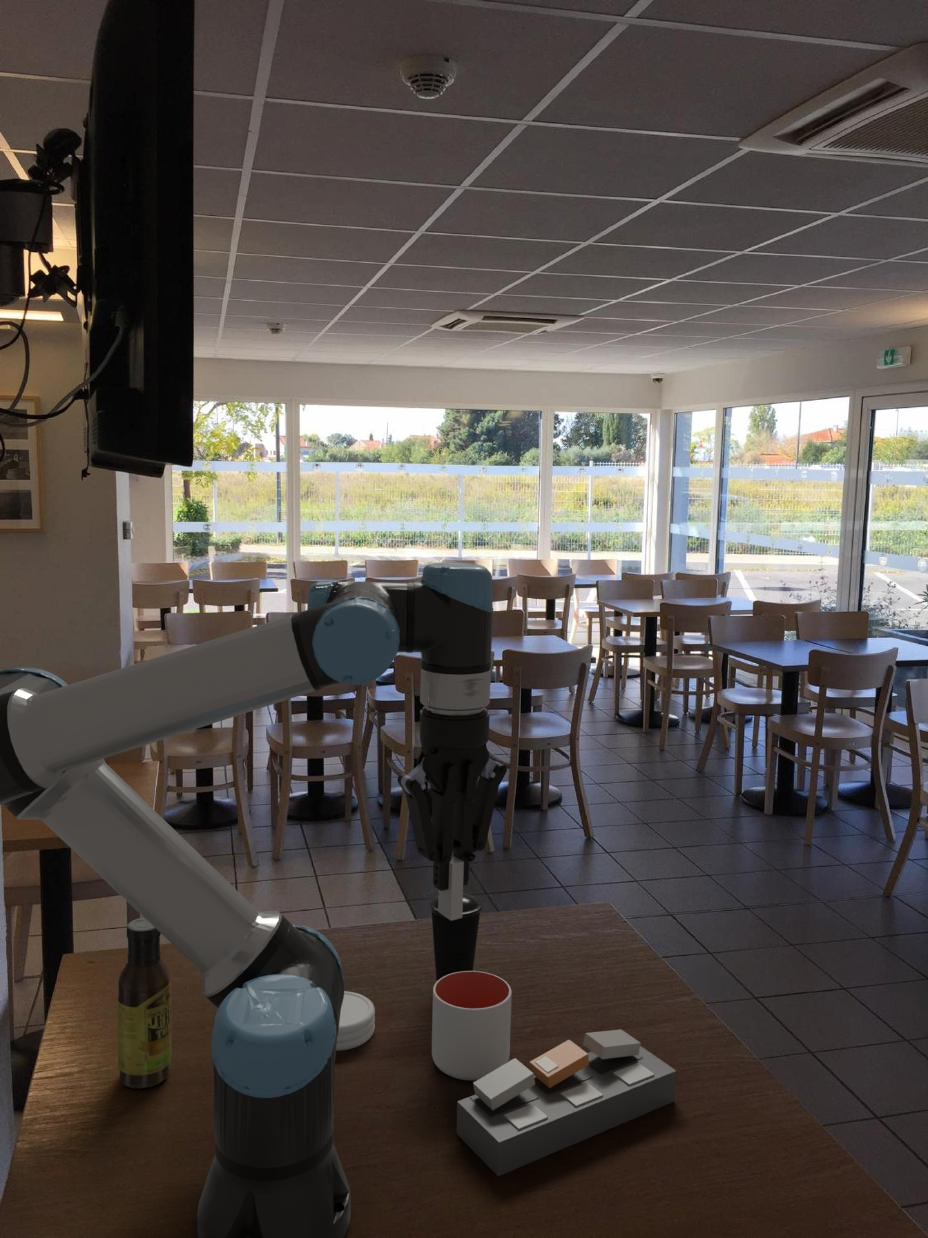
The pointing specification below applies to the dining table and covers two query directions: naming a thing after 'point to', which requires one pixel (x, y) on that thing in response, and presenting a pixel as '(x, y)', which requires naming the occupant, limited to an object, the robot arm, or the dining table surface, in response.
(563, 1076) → the block
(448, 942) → the drinking cup
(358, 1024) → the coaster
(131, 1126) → the dining table surface
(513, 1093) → the block
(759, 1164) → the dining table surface
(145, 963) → the sauce bottle
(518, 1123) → the switch panel
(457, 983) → the cup
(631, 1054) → the rocker
